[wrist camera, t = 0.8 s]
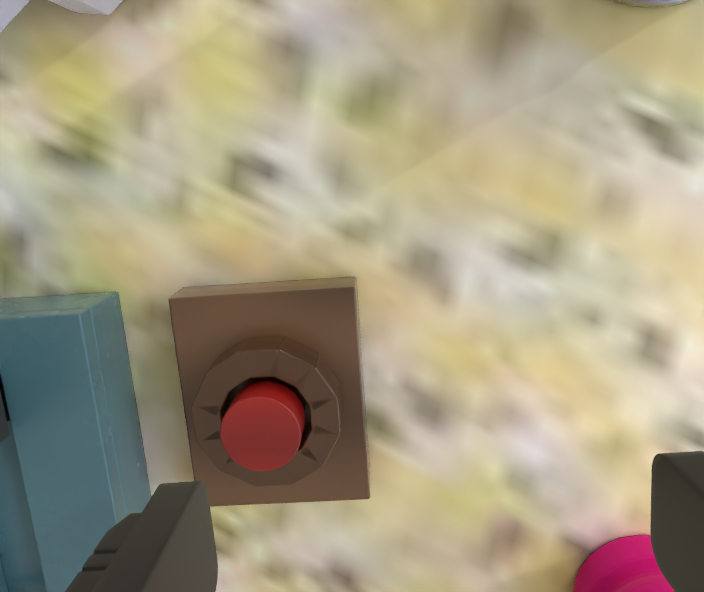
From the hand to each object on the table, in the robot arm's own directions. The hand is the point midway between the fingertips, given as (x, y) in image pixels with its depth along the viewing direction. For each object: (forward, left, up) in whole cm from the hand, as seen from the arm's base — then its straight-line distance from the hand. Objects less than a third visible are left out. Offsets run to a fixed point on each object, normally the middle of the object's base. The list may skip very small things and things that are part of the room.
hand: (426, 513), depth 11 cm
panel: (+4, -6, -18) cm, 19 cm away
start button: (+4, -6, -14) cm, 16 cm away
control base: (+7, -18, -18) cm, 26 cm away
